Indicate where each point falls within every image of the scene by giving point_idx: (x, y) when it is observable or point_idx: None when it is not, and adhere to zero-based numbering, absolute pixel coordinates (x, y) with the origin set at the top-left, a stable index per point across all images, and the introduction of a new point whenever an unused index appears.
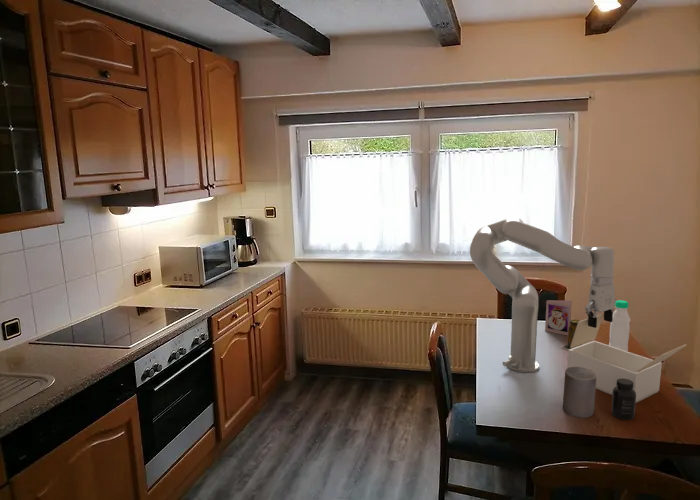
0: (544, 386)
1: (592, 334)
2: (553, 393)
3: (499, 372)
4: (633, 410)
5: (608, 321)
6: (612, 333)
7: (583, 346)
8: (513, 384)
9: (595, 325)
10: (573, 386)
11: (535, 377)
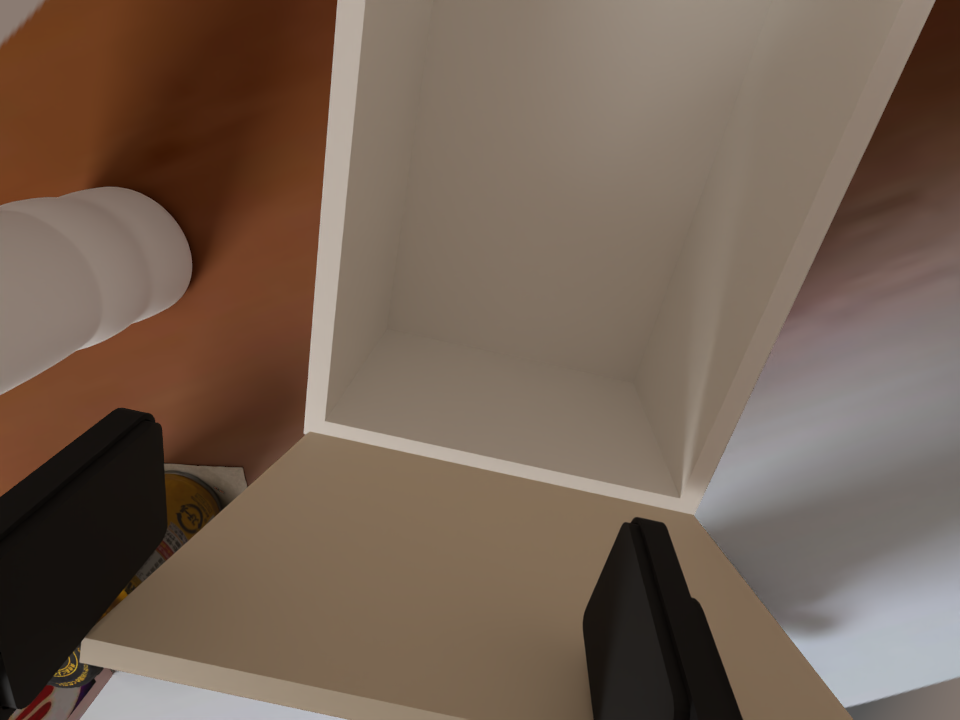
0: (865, 436)
1: (373, 481)
2: (947, 363)
3: (803, 652)
4: None
5: (156, 459)
6: (19, 361)
7: (499, 454)
8: (926, 560)
9: (674, 557)
10: None
11: (761, 513)
